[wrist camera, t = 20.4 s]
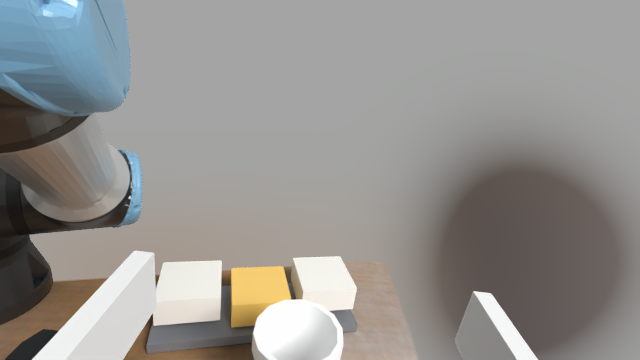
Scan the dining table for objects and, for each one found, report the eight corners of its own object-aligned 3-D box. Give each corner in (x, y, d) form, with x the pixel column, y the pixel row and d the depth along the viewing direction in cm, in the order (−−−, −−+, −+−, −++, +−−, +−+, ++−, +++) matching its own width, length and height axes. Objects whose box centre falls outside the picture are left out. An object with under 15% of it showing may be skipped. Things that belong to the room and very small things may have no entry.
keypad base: (146, 353, 44) (146, 345, 43) (161, 296, 54) (161, 289, 53) (355, 331, 52) (357, 324, 52) (335, 285, 62) (336, 279, 62)
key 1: (300, 313, 50) (303, 291, 48) (290, 277, 57) (293, 257, 56) (352, 308, 52) (357, 288, 51) (336, 274, 60) (340, 256, 58)
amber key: (230, 327, 47) (232, 305, 46) (230, 288, 55) (231, 268, 53) (289, 322, 50) (291, 301, 48) (280, 285, 57) (283, 266, 56)
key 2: (153, 325, 44) (152, 301, 42) (164, 283, 51) (163, 262, 50) (220, 320, 46) (221, 297, 45) (221, 281, 54) (221, 260, 52)
